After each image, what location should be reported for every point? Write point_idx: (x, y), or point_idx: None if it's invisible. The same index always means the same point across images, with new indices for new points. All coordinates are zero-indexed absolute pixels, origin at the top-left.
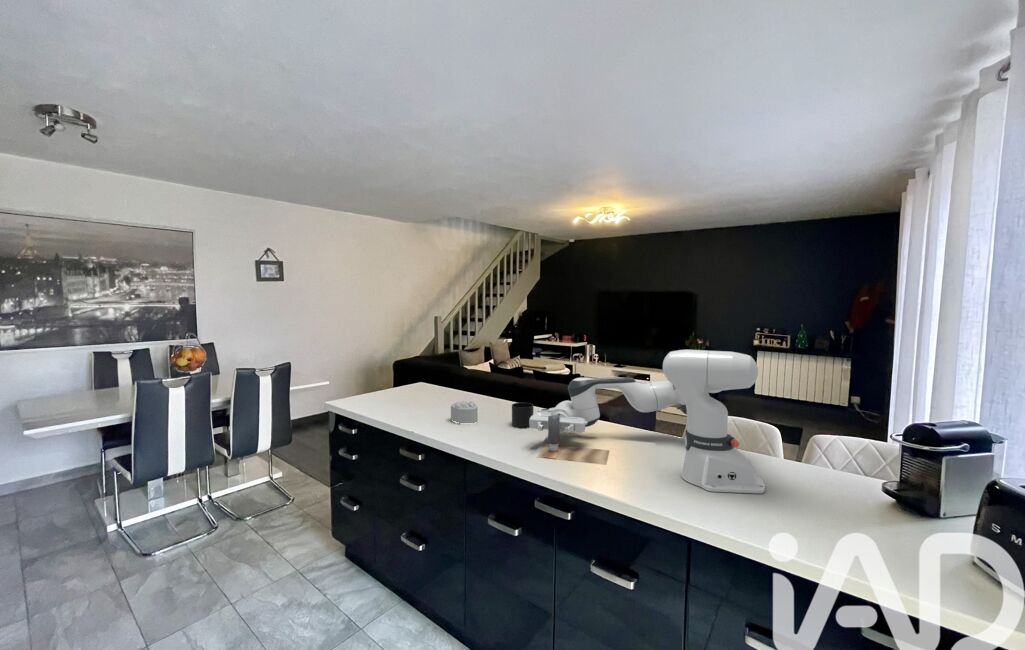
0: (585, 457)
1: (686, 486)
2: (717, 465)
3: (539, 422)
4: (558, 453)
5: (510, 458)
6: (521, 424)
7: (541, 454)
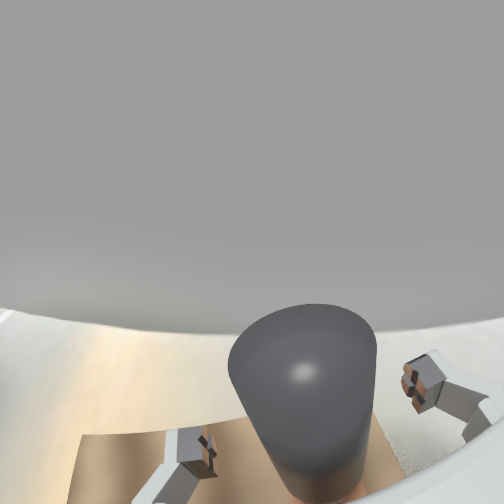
0: (148, 479)
1: None
2: None
3: (489, 395)
4: None
5: (455, 353)
6: None
7: None
